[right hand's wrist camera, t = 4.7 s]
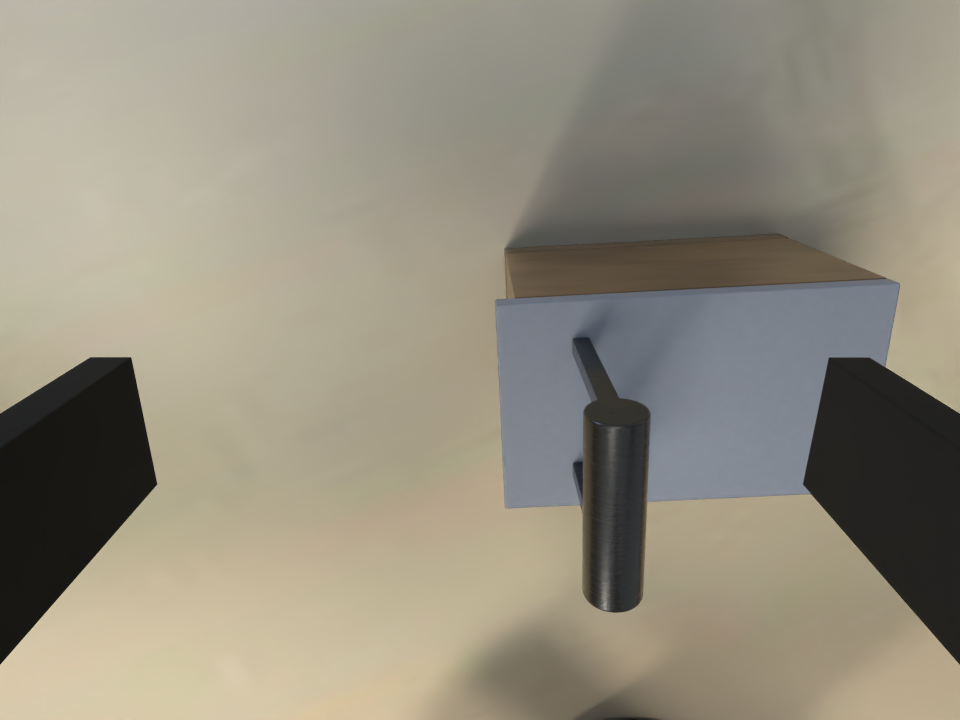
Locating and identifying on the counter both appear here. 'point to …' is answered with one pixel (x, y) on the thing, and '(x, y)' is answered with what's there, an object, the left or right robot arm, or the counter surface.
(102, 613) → the counter surface
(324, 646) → the counter surface
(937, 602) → the right robot arm
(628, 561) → the lid
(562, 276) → the chest
